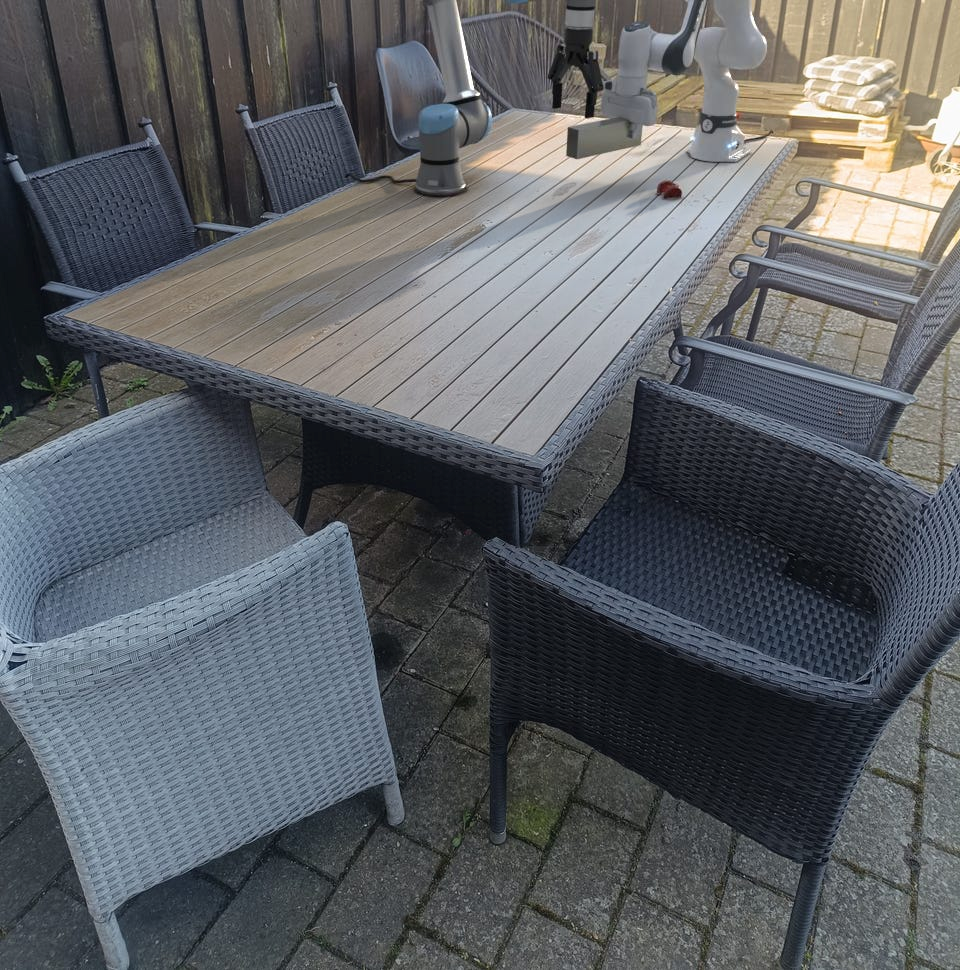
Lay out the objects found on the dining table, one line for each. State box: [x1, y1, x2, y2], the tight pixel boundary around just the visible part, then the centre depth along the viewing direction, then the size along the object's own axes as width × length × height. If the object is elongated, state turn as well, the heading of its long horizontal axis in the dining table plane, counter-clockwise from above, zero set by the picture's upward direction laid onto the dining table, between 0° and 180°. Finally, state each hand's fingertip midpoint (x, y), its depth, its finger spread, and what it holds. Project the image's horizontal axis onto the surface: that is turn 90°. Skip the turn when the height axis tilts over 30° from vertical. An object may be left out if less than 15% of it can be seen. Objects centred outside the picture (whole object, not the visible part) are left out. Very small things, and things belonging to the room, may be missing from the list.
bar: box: [565, 117, 644, 160], centre depth 247 cm, size 26×5×8 cm, turn 126°
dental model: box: [656, 180, 683, 200], centre depth 252 cm, size 6×4×8 cm
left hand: (572, 113), depth 236 cm, fingers open, 13 cm apart
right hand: (626, 136), depth 252 cm, fingers closed on bar, 4 cm apart
